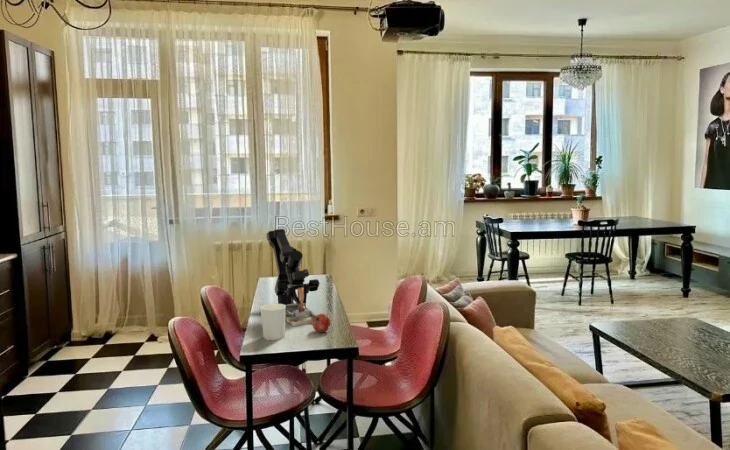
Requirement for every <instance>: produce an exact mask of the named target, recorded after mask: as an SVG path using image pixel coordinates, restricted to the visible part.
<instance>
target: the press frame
mask: <svg viewBox="0 0 730 450" xmlns="http://www.w3.org/2000/svg"><path fill="white" fill-rule="evenodd" d="M285 306H286V308H285V321H287V323H289V325H291V327H295V326H302V325H308V324H309V325H310V324H312V323H313V319H314V317H316V316H317V315H318V314H316V313H314V312H313V311H312V310H311V309H309V308H308V307H307V303H306V304H305V303H304V308H305V309H309V310H310V311H311V317H305V318H298V319H297V318H296V317H295V316H294V315H293V311H294V310H299V309H298V304H297V303H296V302H294V304H287V305H285Z"/></svg>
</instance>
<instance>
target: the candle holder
mask: <svg viewBox="0 0 730 450" xmlns="http://www.w3.org/2000/svg"><path fill="white" fill-rule="evenodd" d="M285 308H286V306H285V305H284V304H278V303H268V304H263V305H262V306H260V307H259V311H260V318H261V328H262V335H263V339H264V340H266V341H277V340H282V339H284V338H285V337H286V319H285Z"/></svg>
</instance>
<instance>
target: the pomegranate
mask: <svg viewBox="0 0 730 450" xmlns="http://www.w3.org/2000/svg"><path fill="white" fill-rule="evenodd" d="M316 315H317V316H316V317H314V319H313V323H311V324H312V328H313V329H314V331H316V332H318V333H326V332H327V331H328V330H329V327H330V326H331V319H330V318H329V317H328V316H327V315H326V314H325V313H318V314H316Z"/></svg>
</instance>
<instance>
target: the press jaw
mask: <svg viewBox="0 0 730 450" xmlns="http://www.w3.org/2000/svg"><path fill="white" fill-rule="evenodd" d="M297 297H298V300H299V305H298V309H299V310H294V311H293V315H294V316H295V317H296V318H297V319H298V318H305V317H311V311H312V310H311V309H310V308H308V309H305V308H304V288H303V287H299V288H297ZM310 310H311V311H310Z"/></svg>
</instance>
